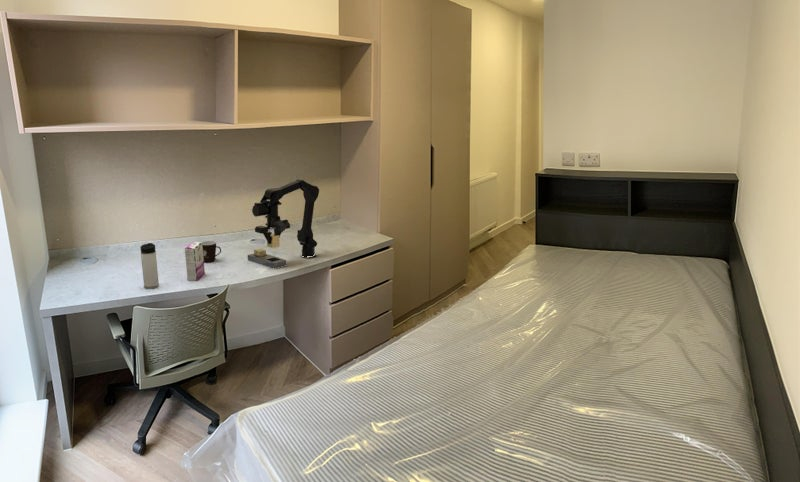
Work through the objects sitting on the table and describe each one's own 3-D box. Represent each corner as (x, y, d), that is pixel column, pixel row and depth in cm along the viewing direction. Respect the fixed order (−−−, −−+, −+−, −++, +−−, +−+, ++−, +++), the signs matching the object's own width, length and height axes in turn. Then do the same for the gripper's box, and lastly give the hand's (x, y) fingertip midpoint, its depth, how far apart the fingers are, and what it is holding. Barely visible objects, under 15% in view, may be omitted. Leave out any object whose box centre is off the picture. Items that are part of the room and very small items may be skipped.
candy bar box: (195, 273, 288) (192, 241, 284) (205, 273, 288) (202, 241, 284) (186, 280, 277) (184, 247, 273) (197, 281, 277) (194, 248, 273)
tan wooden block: (273, 244, 305) (273, 233, 303) (279, 246, 302) (279, 235, 301) (267, 246, 301) (266, 235, 300) (272, 247, 299) (272, 236, 297)
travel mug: (161, 284, 272) (157, 242, 267) (155, 289, 266) (152, 246, 261) (147, 284, 272) (143, 242, 267) (141, 288, 266) (137, 246, 260)
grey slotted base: (260, 257, 317) (259, 251, 317) (286, 265, 304) (286, 260, 303) (247, 260, 311) (247, 254, 311) (274, 269, 298) (274, 263, 297)
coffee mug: (197, 260, 308) (196, 242, 306) (212, 257, 314) (211, 239, 312) (208, 265, 300) (206, 247, 298) (223, 262, 306) (222, 244, 304)
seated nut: (261, 259, 314) (260, 248, 312) (266, 260, 311) (265, 250, 310) (254, 260, 311) (253, 250, 309) (259, 262, 308) (259, 251, 306)
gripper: (267, 219, 285) (268, 249, 289) (297, 213, 300) (297, 243, 304) (253, 215, 292) (254, 245, 296) (282, 210, 306) (283, 239, 310)
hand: (273, 243), depth 301 cm, fingers closed on tan wooden block, 4 cm apart
